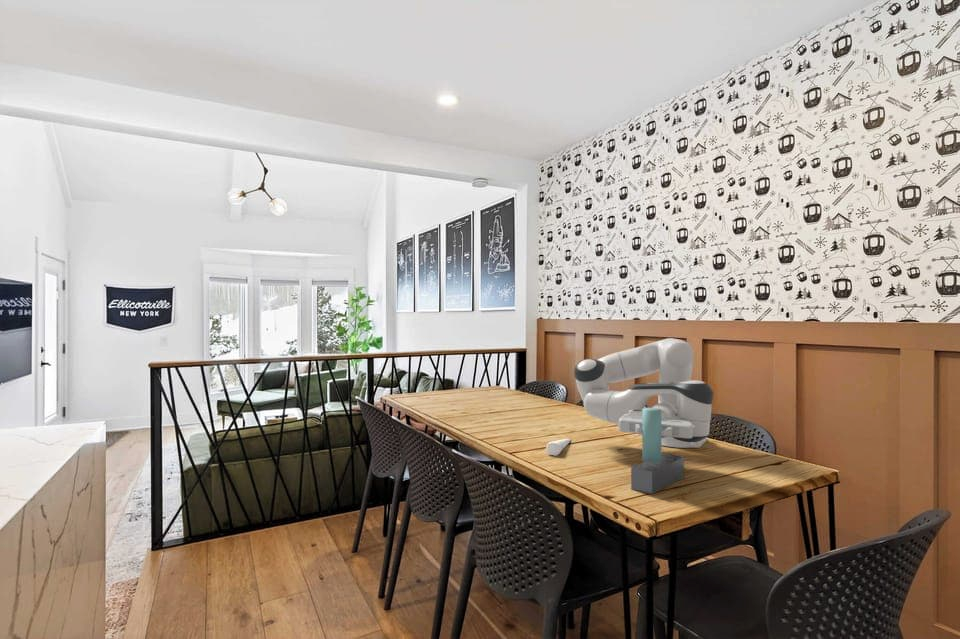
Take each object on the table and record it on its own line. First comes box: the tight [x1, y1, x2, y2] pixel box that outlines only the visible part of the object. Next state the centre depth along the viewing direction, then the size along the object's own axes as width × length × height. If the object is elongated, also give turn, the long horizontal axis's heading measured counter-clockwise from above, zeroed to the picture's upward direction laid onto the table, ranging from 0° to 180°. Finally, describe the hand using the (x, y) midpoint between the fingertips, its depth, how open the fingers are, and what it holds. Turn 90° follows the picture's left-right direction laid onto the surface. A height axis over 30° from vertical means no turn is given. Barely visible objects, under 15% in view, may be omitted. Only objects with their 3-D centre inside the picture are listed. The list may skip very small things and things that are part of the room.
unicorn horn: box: [546, 438, 571, 457], centre depth 176 cm, size 5×24×5 cm, turn 152°
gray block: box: [630, 452, 685, 495], centre depth 138 cm, size 20×6×6 cm, turn 134°
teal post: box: [641, 407, 662, 462], centre depth 135 cm, size 5×5×14 cm
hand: (651, 432), depth 135 cm, fingers closed on teal post, 5 cm apart
